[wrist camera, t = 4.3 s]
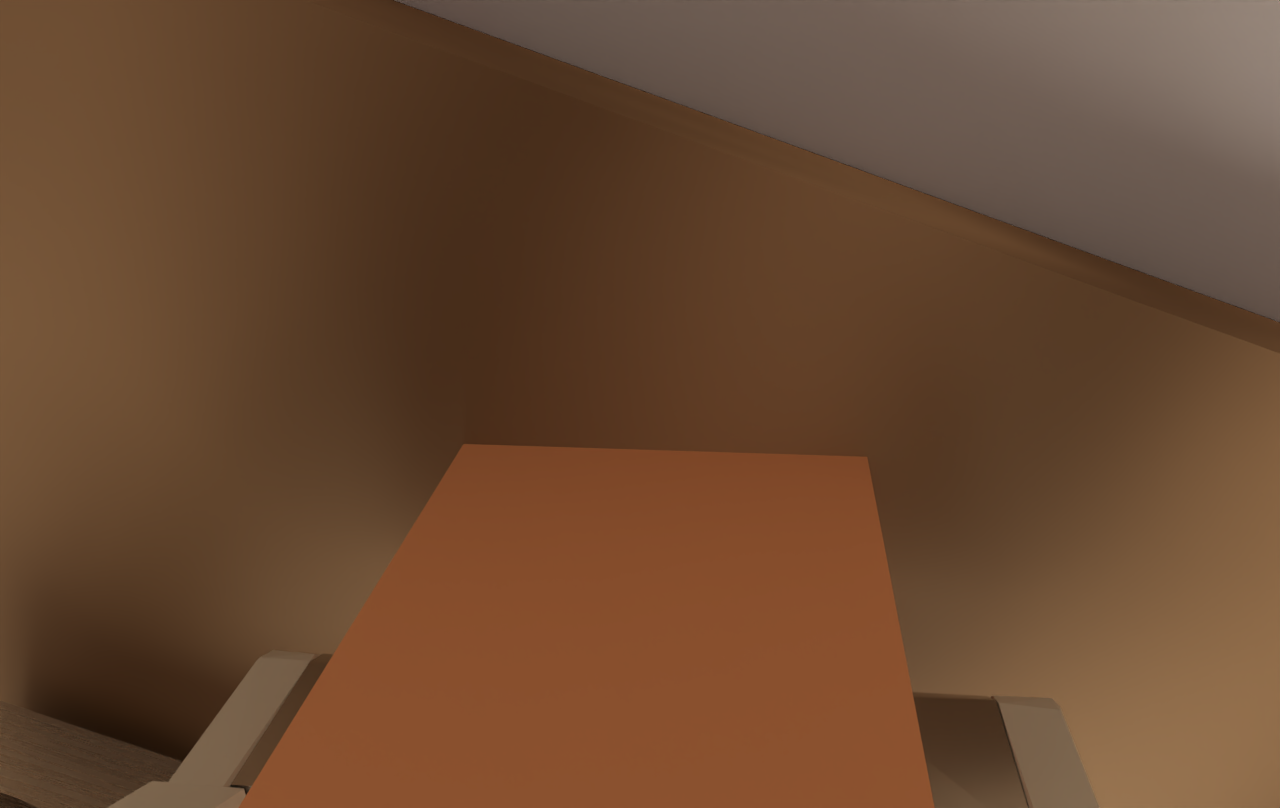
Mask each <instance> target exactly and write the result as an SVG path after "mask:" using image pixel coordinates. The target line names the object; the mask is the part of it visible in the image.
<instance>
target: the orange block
mask: <svg viewBox="0 0 1280 808" xmlns="http://www.w3.org/2000/svg"><path fill="white" fill-rule="evenodd" d="M239 808H935V807H934V802H933V797H932V791H931V786H930V781H929V776H928V771H927V765H926V760H925V755H924V750H923V745H922V739H921V734H920V729H919V724H918V719H917V713H916V708H915V703H914V698H913V692H912V687H911V682H910V677H909V672H908V666H907V661H906V656H905V651H904V646H903V640H902V635H901V630H900V625H899V620H898V614H897V609H896V604H895V599H894V594H893V588H892V583H891V578H890V573H889V567H888V562H887V557H886V552H885V547H884V541H883V536H882V531H881V526H880V521H879V515H878V510H877V505H876V500H875V495H874V489H873V484H872V479H871V474H870V469H869V463H868V458H867V457H860V456H828V455H797V454H765V453H733V452H702V451H670V450H639V449H607V448H576V447H544V446H512V445H481V444H463V446H462V447H461V449H460V450H459V452H458V454H457V455H456V457H455V459H454V460H453V462H452V463H451V465H450V467H449V468H448V470H447V471H446V473H445V475H444V476H443V478H442V480H441V481H440V483H439V484H438V486H437V488H436V489H435V491H434V492H433V494H432V496H431V497H430V499H429V501H428V502H427V504H426V505H425V507H424V509H423V510H422V512H421V513H420V515H419V517H418V518H417V520H416V522H415V523H414V525H413V526H412V528H411V530H410V531H409V533H408V534H407V536H406V538H405V539H404V541H403V543H402V544H401V546H400V547H399V549H398V551H397V552H396V554H395V556H394V557H393V559H392V560H391V562H390V564H389V565H388V567H387V568H386V570H385V572H384V573H383V575H382V577H381V578H380V580H379V581H378V583H377V585H376V586H375V588H374V589H373V591H372V593H371V594H370V596H369V598H368V599H367V601H366V602H365V604H364V606H363V607H362V609H361V610H360V612H359V614H358V615H357V617H356V619H355V620H354V622H353V623H352V625H351V627H350V628H349V630H348V631H347V633H346V635H345V636H344V638H343V640H342V641H341V643H340V644H339V646H338V648H337V649H336V651H335V652H334V654H333V656H332V657H331V659H330V661H329V662H328V664H327V665H326V667H325V669H324V670H323V672H322V674H321V675H320V677H319V678H318V680H317V682H316V683H315V685H314V686H313V688H312V690H311V691H310V693H309V695H308V696H307V698H306V699H305V701H304V703H303V704H302V706H301V707H300V709H299V711H298V712H297V714H296V716H295V717H294V719H293V720H292V722H291V724H290V725H289V727H288V728H287V730H286V732H285V733H284V735H283V737H282V738H281V740H280V741H279V743H278V745H277V746H276V748H275V749H274V751H273V753H272V754H271V756H270V758H269V759H268V761H267V762H266V764H265V766H264V767H263V769H262V771H261V772H260V774H259V775H258V777H257V779H256V780H255V782H254V783H253V785H252V787H251V788H250V790H249V792H248V793H247V795H246V796H245V798H244V800H243V801H242V803H241V804H240V806H239Z"/></svg>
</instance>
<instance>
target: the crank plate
mask: <svg viewBox="0 0 1280 808" xmlns="http://www.w3.org/2000/svg"><path fill="white" fill-rule="evenodd" d="M463 444H481V445H512V446H544V447H576V448H607V449H639V450H670V451H702V452H733V453H765V454H797V455H828V456H860V457H867V458H868V463H869V469H870V474H871V479H872V484H873V489H874V495H875V500H876V505H877V510H878V515H879V521H880V526H881V531H882V536H883V541H884V547H885V552H886V557H887V562H888V567H889V573H890V578H891V583H892V588H893V594H894V599H895V604H896V609H897V614H898V620H899V625H900V630H901V635H902V640H903V646H904V651H905V656H906V661H907V666H908V672H909V677H910V682H911V687H912V692H922V693H940V694H959V695H977V696H988V697H991V696H992V695H994V696H1017V697H1040V698H1052V699H1053V700H1054V701H1055V702H1056V703H1057V704H1058V705H1059V706H1060V707H1061V709H1062V712H1063V715H1064V717H1065V720H1066V722H1067V725H1068V727H1069V730H1070V732H1071V735H1072V737H1073V740H1074V743H1075V745H1076V748H1077V750H1078V753H1079V755H1080V758H1081V760H1082V763H1083V766H1084V768H1085V771H1086V773H1087V776H1088V778H1089V781H1090V783H1091V786H1092V788H1093V791H1094V794H1095V796H1096V799H1097V801H1098V804H1099V806H1100V808H1280V322H1277V321H1274V320H1271V319H1269V318H1266V317H1263V316H1260V315H1258V314H1255V313H1252V312H1249V311H1247V310H1244V309H1241V308H1238V307H1236V306H1233V305H1230V304H1227V303H1225V302H1222V301H1219V300H1216V299H1214V298H1211V297H1208V296H1205V295H1203V294H1200V293H1197V292H1194V291H1192V290H1189V289H1186V288H1183V287H1180V286H1178V285H1175V284H1172V283H1169V282H1167V281H1164V280H1161V279H1158V278H1156V277H1153V276H1150V275H1147V274H1145V273H1142V272H1139V271H1136V270H1134V269H1131V268H1128V267H1125V266H1123V265H1120V264H1117V263H1114V262H1112V261H1109V260H1106V259H1103V258H1101V257H1098V256H1095V255H1092V254H1090V253H1087V252H1084V251H1081V250H1079V249H1076V248H1073V247H1070V246H1068V245H1065V244H1062V243H1059V242H1057V241H1054V240H1051V239H1048V238H1046V237H1043V236H1040V235H1037V234H1035V233H1032V232H1029V231H1026V230H1024V229H1021V228H1018V227H1015V226H1013V225H1010V224H1007V223H1004V222H1002V221H999V220H996V219H993V218H991V217H988V216H985V215H982V214H980V213H977V212H974V211H971V210H969V209H966V208H963V207H960V206H958V205H955V204H952V203H949V202H947V201H944V200H941V199H938V198H936V197H933V196H930V195H927V194H925V193H922V192H919V191H916V190H914V189H911V188H908V187H905V186H903V185H900V184H897V183H894V182H892V181H889V180H886V179H883V178H881V177H878V176H875V175H872V174H870V173H867V172H864V171H861V170H859V169H856V168H853V167H850V166H848V165H845V164H842V163H839V162H837V161H834V160H831V159H828V158H826V157H823V156H820V155H817V154H815V153H812V152H809V151H806V150H804V149H801V148H798V147H795V146H793V145H790V144H787V143H784V142H782V141H779V140H776V139H773V138H771V137H768V136H765V135H762V134H760V133H757V132H754V131H751V130H749V129H746V128H743V127H740V126H738V125H735V124H732V123H729V122H727V121H724V120H721V119H718V118H716V117H713V116H710V115H707V114H705V113H702V112H699V111H696V110H694V109H691V108H688V107H685V106H683V105H680V104H677V103H674V102H672V101H669V100H666V99H663V98H661V97H658V96H655V95H652V94H650V93H647V92H644V91H641V90H639V89H636V88H633V87H630V86H628V85H625V84H622V83H619V82H617V81H614V80H611V79H608V78H606V77H603V76H600V75H597V74H595V73H592V72H589V71H586V70H584V69H581V68H578V67H575V66H573V65H570V64H567V63H564V62H562V61H559V60H556V59H553V58H551V57H548V56H545V55H542V54H540V53H537V52H534V51H531V50H529V49H526V48H523V47H520V46H518V45H515V44H512V43H509V42H507V41H504V40H501V39H498V38H495V37H493V36H490V35H487V34H484V33H482V32H479V31H476V30H473V29H471V28H468V27H465V26H462V25H460V24H457V23H454V22H451V21H449V20H446V19H443V18H440V17H438V16H435V15H432V14H429V13H427V12H424V11H421V10H418V9H416V8H413V7H410V6H407V5H405V4H402V3H399V2H396V1H394V0H0V700H1V701H3V702H6V703H9V704H12V705H15V706H18V707H21V708H24V709H27V710H30V711H33V712H36V713H39V714H42V715H45V716H48V717H51V718H54V719H57V720H60V721H63V722H66V723H69V724H72V725H75V726H78V727H81V728H84V729H87V730H90V731H93V732H96V733H99V734H102V735H105V736H108V737H111V738H114V739H117V740H120V741H123V742H126V743H129V744H132V745H135V746H138V747H141V748H144V749H147V750H150V751H153V752H156V753H159V754H162V755H165V756H168V757H171V758H174V759H177V760H180V761H183V760H184V759H185V758H186V756H187V755H188V754H189V752H190V751H191V750H192V748H193V747H194V745H195V744H196V743H197V741H198V740H199V739H200V737H201V736H202V734H203V733H204V732H205V730H206V729H207V728H208V726H209V725H210V724H211V722H212V721H213V719H214V718H215V717H216V715H217V714H218V713H219V711H220V710H221V708H222V707H223V706H224V704H225V703H226V702H227V700H228V699H229V698H230V696H231V695H232V693H233V692H234V691H235V689H236V688H237V687H238V685H239V684H240V682H241V681H242V680H243V678H244V677H245V676H246V674H247V673H248V672H249V670H250V669H251V667H252V666H253V665H254V663H255V662H256V661H257V660H258V659H259V658H260V657H261V656H263V655H265V654H267V653H269V652H271V651H272V650H277V651H288V652H299V653H310V654H319V655H321V654H334V652H335V651H336V649H337V648H338V646H339V644H340V643H341V641H342V640H343V638H344V636H345V635H346V633H347V631H348V630H349V628H350V627H351V625H352V623H353V622H354V620H355V619H356V617H357V615H358V614H359V612H360V610H361V609H362V607H363V606H364V604H365V602H366V601H367V599H368V598H369V596H370V594H371V593H372V591H373V589H374V588H375V586H376V585H377V583H378V581H379V580H380V578H381V577H382V575H383V573H384V572H385V570H386V568H387V567H388V565H389V564H390V562H391V560H392V559H393V557H394V556H395V554H396V552H397V551H398V549H399V547H400V546H401V544H402V543H403V541H404V539H405V538H406V536H407V534H408V533H409V531H410V530H411V528H412V526H413V525H414V523H415V522H416V520H417V518H418V517H419V515H420V513H421V512H422V510H423V509H424V507H425V505H426V504H427V502H428V501H429V499H430V497H431V496H432V494H433V492H434V491H435V489H436V488H437V486H438V484H439V483H440V481H441V480H442V478H443V476H444V475H445V473H446V471H447V470H448V468H449V467H450V465H451V463H452V462H453V460H454V459H455V457H456V455H457V454H458V452H459V450H460V449H461V447H462V446H463Z"/></svg>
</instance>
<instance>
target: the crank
mask: <svg viewBox="0 0 1280 808" xmlns="http://www.w3.org/2000/svg"><path fill="white" fill-rule="evenodd" d="M182 762H183V761H180V760H177V759H174V758H171V757H168V756H165V755H162V754H159V753H156V752H153V751H150V750H147V749H144V748H141V747H138V746H135V745H132V744H129V743H126V742H123V741H120V740H117V739H114V738H111V737H108V736H105V735H102V734H99V733H96V732H93V731H90V730H87V729H84V728H81V727H78V726H75V725H72V724H69V723H66V722H63V721H60V720H57V719H54V718H51V717H48V716H45V715H42V714H39V713H36V712H33V711H30V710H27V709H24V708H21V707H18V706H15V705H12V704H9V703H6V702H3V701H1V700H0V808H107V807H109V806H110V805H112V804H114V803H115V802H117V801H119V800H121V799H122V798H124V797H126V796H127V795H129V794H131V793H132V792H134V791H136V790H137V789H139V788H141V787H142V786H144V785H146V784H148V783H149V782H151V781H159V782H168V781H169V780H170V778H171V777H172V776H173V774H174V773H175V771H176V770H177V769H178V767H179V766H180V765H181V763H182Z"/></svg>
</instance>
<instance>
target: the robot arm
mask: <svg viewBox="0 0 1280 808" xmlns="http://www.w3.org/2000/svg"><path fill="white" fill-rule="evenodd" d="M332 656H333V654H321V655H319V654H310V653H299V652H288V651H277V650H272V651H271V652H269V653H267V654H265V655H263V656H261V657H260V658H259V659H258V660H257V661H256V662H255V663H254V665H253V666H252V667H251V669H250V670H249V672H248V673H247V674H246V676H245V677H244V678H243V680H242V681H241V682H240V684H239V685H238V687H237V688H236V689H235V691H234V692H233V693H232V695H231V696H230V698H229V699H228V700H227V702H226V703H225V704H224V706H223V707H222V708H221V710H220V711H219V713H218V714H217V715H216V717H215V718H214V719H213V721H212V722H211V724H210V725H209V726H208V728H207V729H206V730H205V732H204V733H203V734H202V736H201V737H200V739H199V740H198V741H197V743H196V744H195V745H194V747H193V748H192V750H191V751H190V752H189V754H188V755H187V756H186V758H185V759H184V760H183V762H182V763H181V765H180V766H179V767H178V769H177V770H176V771H175V773H174V774H173V776H172V777H171V778H170V780H169V781H168V782H159V781H151V782H149V783H148V784H146V785H144V786H142V787H141V788H139V789H137V790H136V791H134V792H132V793H131V794H129V795H127V796H126V797H124V798H122V799H121V800H119V801H117V802H115V803H114V804H112V805H110V806H109V807H107V808H239V806H240V804H241V803H242V801H243V800H244V798H245V796H246V795H247V793H248V792H249V790H250V788H251V787H252V785H253V783H254V782H255V780H256V779H257V777H258V775H259V774H260V772H261V771H262V769H263V767H264V766H265V764H266V762H267V761H268V759H269V758H270V756H271V754H272V753H273V751H274V749H275V748H276V746H277V745H278V743H279V741H280V740H281V738H282V737H283V735H284V733H285V732H286V730H287V728H288V727H289V725H290V724H291V722H292V720H293V719H294V717H295V716H296V714H297V712H298V711H299V709H300V707H301V706H302V704H303V703H304V701H305V699H306V698H307V696H308V695H309V693H310V691H311V690H312V688H313V686H314V685H315V683H316V682H317V680H318V678H319V677H320V675H321V674H322V672H323V670H324V669H325V667H326V665H327V664H328V662H329V661H330V659H331V657H332ZM913 698H914V703H915V708H916V713H917V719H918V724H919V729H920V734H921V739H922V745H923V750H924V755H925V760H926V765H927V771H928V776H929V781H930V786H931V791H932V797H933V802H934V807H935V808H1100V806H1099V804H1098V801H1097V799H1096V796H1095V794H1094V791H1093V788H1092V786H1091V783H1090V781H1089V778H1088V776H1087V773H1086V771H1085V768H1084V766H1083V763H1082V760H1081V758H1080V755H1079V753H1078V750H1077V748H1076V745H1075V743H1074V740H1073V737H1072V735H1071V732H1070V730H1069V727H1068V725H1067V722H1066V720H1065V717H1064V715H1063V712H1062V709H1061V707H1060V706H1059V705H1058V704H1057V703H1056V702H1055V701H1054V700H1053V699H1052V698H1040V697H1017V696H994V695H992V696H991V697H988V696H977V695H959V694H940V693H922V692H913Z"/></svg>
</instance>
